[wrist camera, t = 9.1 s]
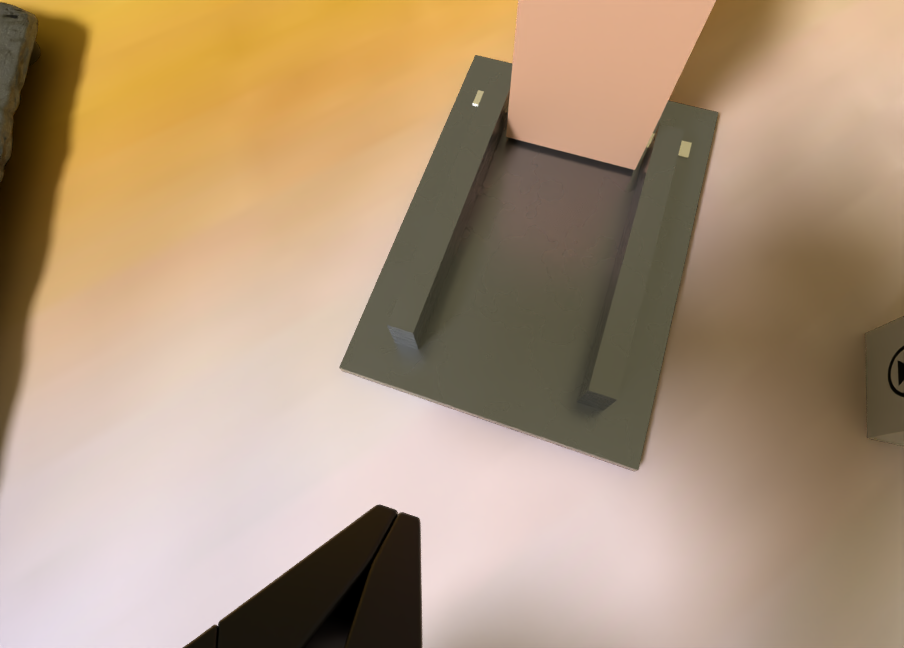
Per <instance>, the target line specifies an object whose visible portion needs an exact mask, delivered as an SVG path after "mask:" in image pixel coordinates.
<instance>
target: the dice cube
mask: <svg viewBox="0 0 904 648" xmlns="http://www.w3.org/2000/svg"><path fill="white" fill-rule="evenodd" d="M865 343H866V400H867V438H869V439H874V440H878V441H882V442H887V443H891V444H896V445H900V446H904V316H903V317H901V318H898V319H896V320H894V321H892V322H890V323H888V324H885V325H883V326H881V327H879V328H877V329H874V330H872V331H870V332H868V333H866V334H865Z"/></svg>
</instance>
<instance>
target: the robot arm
mask: <svg viewBox="0 0 904 648" xmlns="http://www.w3.org/2000/svg"><path fill="white" fill-rule="evenodd" d="M183 648H422V588H421V527H420V519H419V518H418V517H415V516H412V515H409V514H406V513H403V512H401V513H399V514H398V512H397V511H396V510H395V509H392V508H389V507H386V506H383V505H376V506H375V507H373V508H372V509H370V510H369V511H368V512H366V513H365V514H364V515H362V516H361V517H360V518H358V519H357V520H356V521H354V522H353V523H352V524H350V525H349V526H347V527H346V528H345V529H343V530H342V531H341V532H339V533H338V534H337V535H335V536H334V537H333V538H331V539H330V540H329V541H327V542H326V543H324V544H323V545H322V546H320V547H319V548H318V549H316V550H315V551H314V552H312V553H311V554H310V555H308V556H307V557H306V558H304V559H303V560H301V561H300V562H299V563H297V564H296V565H295V566H293V567H292V568H291V569H289V570H288V571H287V572H285V573H284V574H283V575H281V576H280V577H279V578H277V579H276V580H274V581H273V582H272V583H270V584H269V585H268V586H266V587H265V588H264V589H262V590H261V591H260V592H258V593H257V594H256V595H254V596H253V597H251V598H250V599H249V600H247V601H246V602H245V603H243V604H242V605H241V606H239V607H238V608H237V609H235V610H234V611H233V612H231V613H230V614H228V615H227V616H226V617H224V618H223V619H222V620H220V621H219V623H218V626H217V625H213V626H212V627H211V628H209V629H208V630H206V631H205V632H204V633H202V634H201V635H200V636H198V637H197V638H196V639H194V640H193V641H192V642H190V643H189V644H187V645H186V646H185V647H183Z"/></svg>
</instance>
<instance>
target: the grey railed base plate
mask: <svg viewBox="0 0 904 648" xmlns="http://www.w3.org/2000/svg"><path fill="white" fill-rule="evenodd" d="M511 75H512V64H511V63H507V62H503V61H499V60H494V59H490V58H486V57H482V56H478V55H475V57H474V60H473V62H472V64H471V66H470V69H469V71H468V73H467V76H466V78H465V80H464V83H463V85H462V87H461V89H460V92H459V94H458V96H457V99H456V101H455V103H454V106H453V108H452V110H451V112H450V115H449V117H448V119H447V122H446V124H445V126H444V128H443V131H442V133H441V135H440V138H439V140H438V142H437V145H436V147H435V149H434V151H433V154H432V156H431V158H430V161H429V163H428V165H427V168H426V170H425V172H424V174H423V177H422V179H421V181H420V184H419V186H418V188H417V190H416V193H415V195H414V197H413V200H412V202H411V204H410V207H409V209H408V211H407V213H406V216H405V218H404V220H403V223H402V225H401V227H400V229H399V232H398V234H397V236H396V239H395V241H394V243H393V246H392V248H391V250H390V252H389V255H388V257H387V259H386V262H385V264H384V266H383V269H382V271H381V273H380V275H379V278H378V280H377V282H376V285H375V287H374V289H373V291H372V294H371V296H370V298H369V301H368V303H367V305H366V308H365V310H364V312H363V314H362V317H361V319H360V321H359V324H358V326H357V328H356V331H355V333H354V335H353V337H352V340H351V342H350V344H349V347H348V349H347V351H346V353H345V356H344V358H343V360H342V363H341V365H340V367H339V368H340V369H341V370H342V371H344V372H347V373H350V374H353V375H356V376H358V377H361V378H364V379H367V380H370V381H373V382H376V383H379V384H382V385H385V386H387V387H390V388H393V389H396V390H399V391H402V392H405V393H408V394H411V395H414V396H417V397H419V398H422V399H425V400H428V401H431V402H434V403H437V404H440V405H443V406H446V407H449V408H451V409H454V410H457V411H460V412H463V413H466V414H469V415H472V416H475V417H478V418H481V419H483V420H486V421H489V422H492V423H495V424H498V425H501V426H504V427H507V428H510V429H513V430H515V431H518V432H521V433H524V434H527V435H530V436H533V437H536V438H539V439H542V440H545V441H547V442H550V443H553V444H556V445H559V446H562V447H565V448H568V449H571V450H574V451H577V452H579V453H582V454H585V455H588V456H591V457H594V458H597V459H600V460H603V461H606V462H609V463H611V464H614V465H617V466H620V467H623V468H626V469H629V470H632V471H637V470H638V469H639V464H640V460H641V455H642V451H643V447H644V442H645V438H646V433H647V429H648V424H649V420H650V415H651V411H652V406H653V402H654V397H655V393H656V389H657V384H658V380H659V375H660V371H661V366H662V362H663V357H664V353H665V348H666V344H667V339H668V335H669V331H670V326H671V322H672V317H673V313H674V308H675V304H676V299H677V295H678V290H679V286H680V281H681V277H682V273H683V268H684V264H685V259H686V255H687V250H688V246H689V241H690V237H691V232H692V228H693V223H694V219H695V215H696V210H697V206H698V201H699V197H700V192H701V188H702V183H703V179H704V174H705V170H706V165H707V161H708V157H709V152H710V148H711V143H712V139H713V134H714V130H715V125H716V121H717V116H718V112H714V111H710V110H706V109H702V108H697V107H693V106H689V105H685V104H680V103H676V102H672V101H668V102H667V104H666V106H665V108H664V110H663V112H662V115H661V117H660V119H659V121H658V123H657V125H656V127H655V129H654V131H653V133H652V135H651V138H650V140H649V142H648V144H647V146H646V148H645V150H644V152H643V154H642V156H641V158H640V161H639V163H638V165H637V167H636V169H635V170H633V169H629V168H625V167H621V166H617V165H613V164H610V163H606V162H602V161H598V160H594V159H590V158H586V157H583V156H579V155H575V154H571V153H567V152H563V151H559V150H555V149H552V148H548V147H544V146H540V145H536V144H532V143H528V142H524V141H521V140H517V139H513V138H509V137H506V130H507V119H508V108H509V97H510V86H511Z"/></svg>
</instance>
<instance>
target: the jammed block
mask: <svg viewBox="0 0 904 648" xmlns="http://www.w3.org/2000/svg"><path fill="white" fill-rule="evenodd" d="M715 2H716V0H518V10H517V21H516V31H515V42H514V53H513V64H512V75H511V86H510V97H509V108H508V119H507V130H506V137H509V138H513V139H517V140H521V141H524V142H528V143H532V144H536V145H540V146H544V147H548V148H552V149H555V150H559V151H563V152H567V153H571V154H575V155H579V156H583V157H586V158H590V159H594V160H598V161H602V162H606V163H610V164H613V165H617V166H621V167H625V168H629V169H633V170H635V169H636V167H637V165H638V163H639V161H640V158H641V156H642V154H643V152H644V150H645V148H646V146H647V144H648V142H649V140H650V138H651V135H652V133H653V131H654V129H655V127H656V125H657V123H658V121H659V119H660V117H661V115H662V112H663V110H664V108H665V106H666V104H667V102H668V100H669V98H670V96H671V94H672V92H673V89H674V87H675V85H676V83H677V81H678V79H679V77H680V75H681V73H682V71H683V69H684V66H685V64H686V62H687V60H688V58H689V56H690V54H691V52H692V50H693V48H694V46H695V43H696V41H697V39H698V37H699V35H700V33H701V31H702V29H703V27H704V25H705V23H706V21H707V18H708V16H709V14H710V12H711V10H712V8H713V6H714V4H715Z"/></svg>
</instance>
